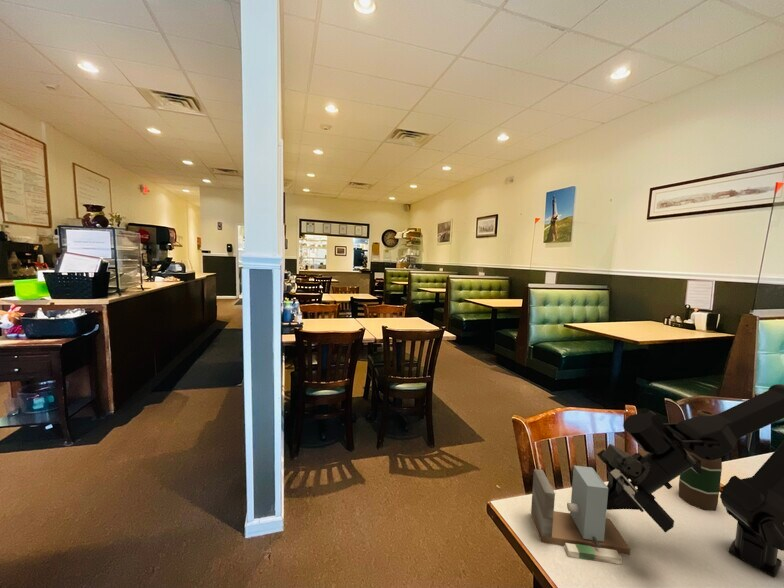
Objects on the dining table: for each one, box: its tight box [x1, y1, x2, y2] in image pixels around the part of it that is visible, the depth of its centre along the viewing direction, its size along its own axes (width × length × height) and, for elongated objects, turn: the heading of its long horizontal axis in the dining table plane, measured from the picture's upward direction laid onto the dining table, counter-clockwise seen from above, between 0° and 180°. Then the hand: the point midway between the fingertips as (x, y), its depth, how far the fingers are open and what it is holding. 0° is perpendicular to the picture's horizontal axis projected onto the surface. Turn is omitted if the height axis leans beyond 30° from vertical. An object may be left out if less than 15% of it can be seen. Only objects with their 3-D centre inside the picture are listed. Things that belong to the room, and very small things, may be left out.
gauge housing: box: [530, 468, 631, 565], centre depth 69 cm, size 18×11×12 cm, turn 81°
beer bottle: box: [678, 409, 723, 511], centre depth 81 cm, size 8×8×24 cm
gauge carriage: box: [566, 465, 608, 548], centre depth 69 cm, size 6×9×12 cm, turn 171°
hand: (598, 507), depth 70 cm, fingers closed, pressing on gauge carriage
